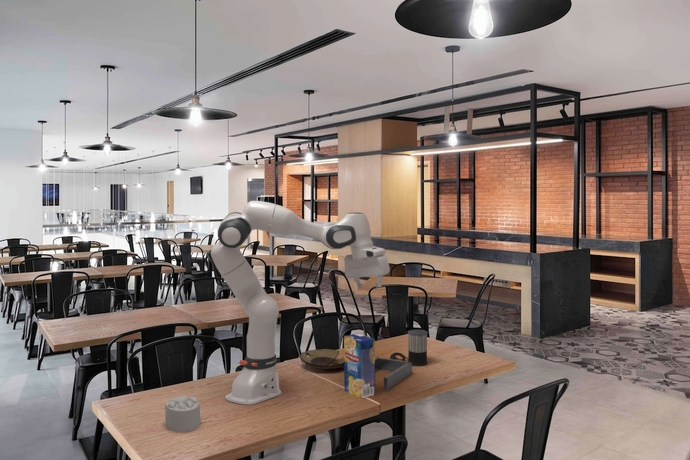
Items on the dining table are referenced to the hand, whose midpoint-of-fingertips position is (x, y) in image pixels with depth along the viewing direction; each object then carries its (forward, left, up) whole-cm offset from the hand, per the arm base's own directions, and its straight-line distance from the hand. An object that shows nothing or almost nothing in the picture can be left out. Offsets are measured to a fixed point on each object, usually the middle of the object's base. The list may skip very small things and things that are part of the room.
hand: (369, 287), depth 211 cm
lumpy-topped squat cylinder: (-59, +40, -42) cm, 82 cm away
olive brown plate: (+19, +31, -42) cm, 56 cm away
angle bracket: (+17, +3, -41) cm, 45 cm away
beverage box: (-3, +3, -41) cm, 42 cm away
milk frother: (+44, +2, -42) cm, 61 cm away
